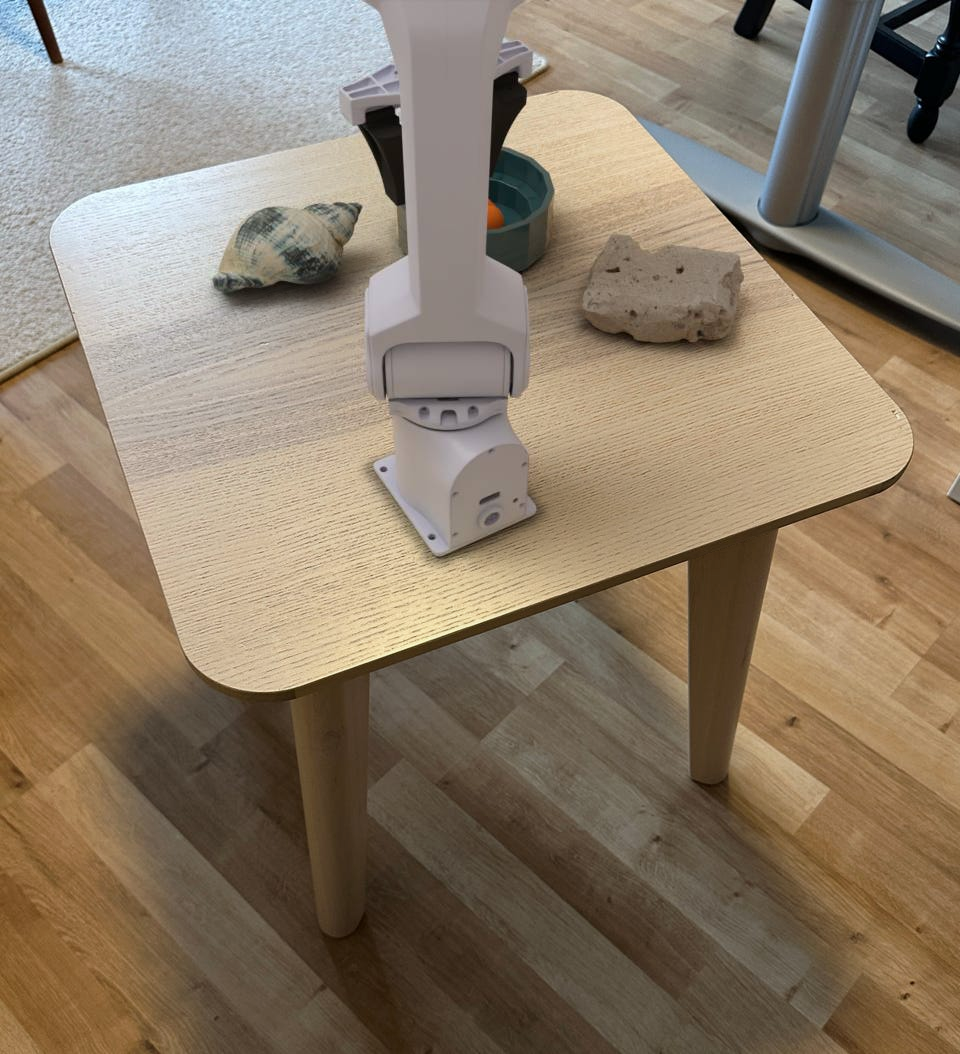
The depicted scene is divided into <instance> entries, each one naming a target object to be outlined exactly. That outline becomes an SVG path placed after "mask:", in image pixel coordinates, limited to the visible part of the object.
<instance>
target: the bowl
mask: <svg viewBox="0 0 960 1054" xmlns="http://www.w3.org/2000/svg"><path fill="white" fill-rule="evenodd" d="M555 192H556V190H555V186H554V184H553V180H552V177H551V174H550V172H549V171H548V170H547V169H546V168H544V167H543V166H542V165H541V164H540V163H539V162H538V161H537V160H535V159H534V157H532V156H530V155H527V154H524V153H522V152H520V151H518V150H515V149H513V148H511V147H508V146H502V149H501V152H500V155H499V158H498V161H497V164H496V168H495V171H494V174H493V177H490V178H489V188H488V199H489V200H490V201H491V202H492V203H493V204H494V205H495V206H496V207H497V208H498V209H499V210H500V211H501V213H502V215H503V218H504V227H502V228H499V229H487V234H486V255H487V256H488V257H490V258H492V259H494V260H496V261H498V262H499V263H501V264H503V265H505V266H507V267H509V268H511V269H512V270H514V271H516V272H517V273H519V272H521V271H524V270H526V269H528V268H529V267H530V266H532V265H533V264H534V263H535V262H537V260H539V259H540V258H541V257H542V256H543V255H545V254H546V251H547V249H548V245H549V244H550V243H549V242H550V241H551V237H552V229H553V219H554V218H553V217H554V207H555V205H554V204H555ZM394 213H395V229H396V237H397V243H398V247H399V248H400V249H401V251H402V252H403V253H404V254H405V256H407V255H408V239H407V220H406V203H405V204H404V205H401V206H396V205H395V204H394Z"/></svg>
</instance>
